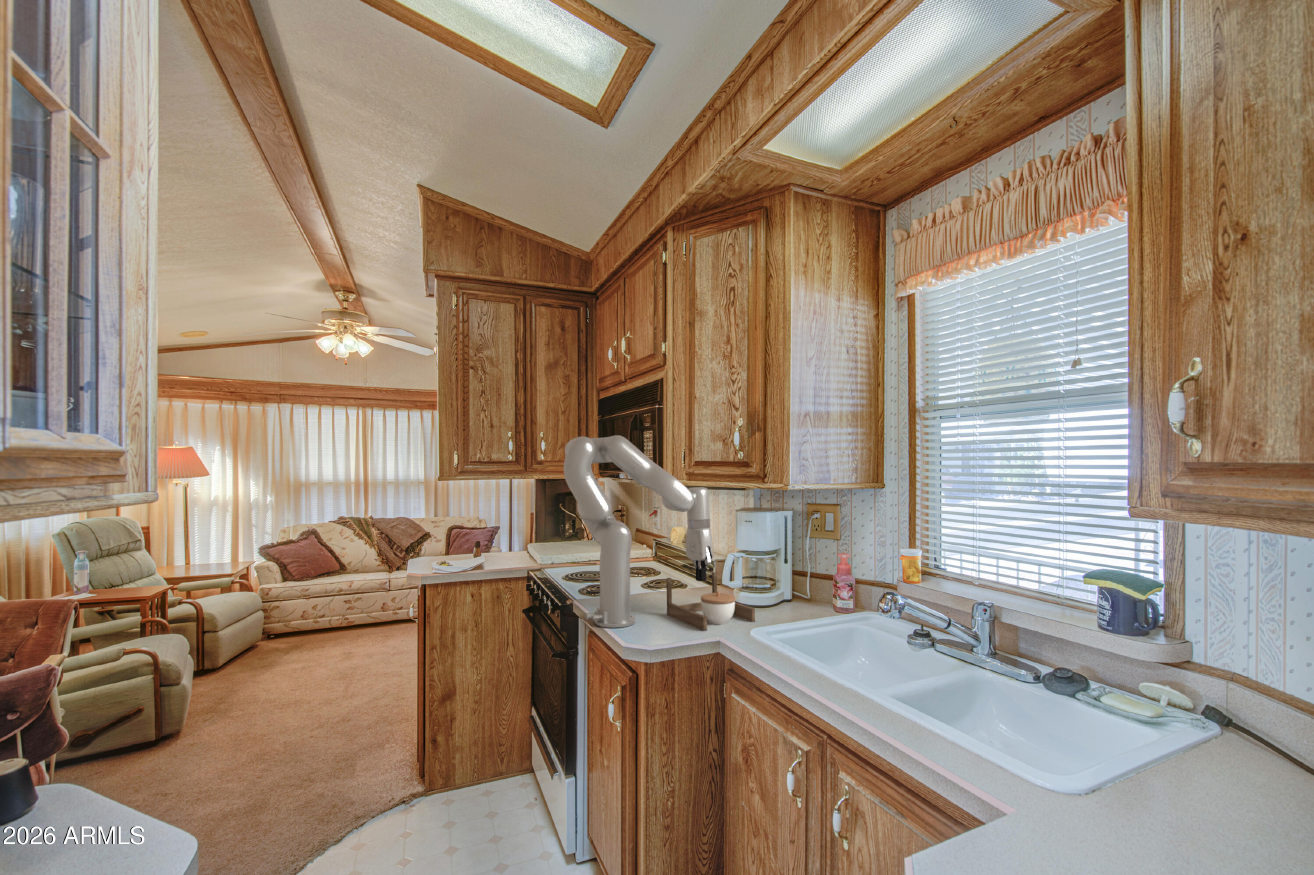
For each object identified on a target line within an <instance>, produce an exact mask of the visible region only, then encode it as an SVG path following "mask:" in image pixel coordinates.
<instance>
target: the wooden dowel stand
mask: <svg viewBox="0 0 1314 875" xmlns="http://www.w3.org/2000/svg"><path fill="white" fill-rule="evenodd" d="M672 580H673V579H672V578H671V577H666V615H667V616H668V615H669V616H668V617H670V616H671V618H672V617H673V619H675V620H677V619H678V620H677V621H680V622H682V623H684V624H686V625H689V626H691V627H693V628H696V629H698V630H700V631H703V632H706V631H708V620H707V617H706V616H704V614H701V613H698V612H702V606H701V601H699V602H694V603H688V604H681V605H678V604H675V603H673V599H672V598H673V592H672V591H673V589H672V588H673V587H672ZM711 588H712V589H711V590H712V591H711V593H716V591H718V573H717V572H715V571H714V572H711ZM755 611H756V609H755V608H754V607H751V606H748V605H746V604H745V605H744V604H742V603H739V602H736V601H735V610H734V614H733V616H734V615H735V616H734V617H737V618H739V617H740V618H739V619H742V618H743V620H745V619H746V620H745V621H748V622H750V623H754V622H756V612H755Z"/></svg>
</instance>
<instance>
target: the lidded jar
mask: <svg viewBox="0 0 1314 875" xmlns="http://www.w3.org/2000/svg"><path fill="white" fill-rule="evenodd" d="M700 600H701V601H700V602H701V606H702V611H701V612H702V615H704V616H706V617H707V622H708V623H710V624H712V625H713V624H714V625H726V624H728V623H729V622H730V620H731V619H732V618H733V616H734V615H733V614H734V610H735V602H736V596H735V595H734V594H730V593H724V592H720V590H717V591H716V593H712V592H709V593H705V594H702V595H701V596H700Z"/></svg>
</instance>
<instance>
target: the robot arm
mask: <svg viewBox="0 0 1314 875" xmlns="http://www.w3.org/2000/svg"><path fill="white" fill-rule="evenodd" d="M564 455H565V458H564V462H563V475H564V479H565V482H566V484H567V486H568V488H569V489H570V491H571V493H572V495H573V497H574V499H575V500H576V502H577V503H576V508H577V513H578V514H579V517H580V518H581V520H582V522H583V523H584V525H585V527H586V528H587V529H588V531H589V532H590V534H591V536H592V538H593V539H594V540H595V542H596V543H597V544H598V545H599V546H600V554H599V607H597V608H596V610H594V612H586V613H585V614H584V618H585V620H593V621H594V624H595V625H596V626H598V627H602V628H609V629H610V628H613V629H614V628H615V629H616V628H617V629H618V628H623V627H624V628H625V627H629V626H633V625H634V624H635V623H636V617H635V616H634V615H632V614H631V551H632V540H633V539H632V538H633V537H632V532H631V530H630V529H629V527H628V526H627V525H626V524H625V523H624V522H622V521H619V520H617V519H616V517H615V516H614V514H613V512H612V508H613V507H612V504H611V501H610V499H609V497H608V496H607V494H606V493H605V492H604V490H603V489H602V488H603V487H601V486H600V483H599V482H598V480H597V478H596V477H595V475H594V472H593V469H592V464H603V463H613V464H614V465H615V466H617V467H618V468H619V469H621V471H623V472H624V473H625V474H626V475H627V476H628V477H629V478H630V479H632V480H634V482H635V483H637V484H638V485H640V486H642V487H644V488H647V489H650V490H651V491H652V492H654V493H656V494H658V495H659V496H660V497H661V502H662V505H663V506H664V508H666V509H668V510H670V511H674V512H680V513H684V512H686V516H687V517H686V519H687V520H686V521H687V523H686V524H687V528H686V534H685V556H686V558H688V559H690V561H691V562H693V566H694V569H695V571H694V572H695V580H696V582H704V581H707V568H708V565H710V564H712V559H713V558H714V546H713V544H714V543H713V537H712V531H711V519H710V518H711V516H710V493H709V492H710V491H709V489H708V488H707V487H705V486H704V487H703V486H701V487H700V486H698V487H696V486H694V487H689V488H688V487H687V486H685V485H684V484H683V483H682V482H681V481H680V480H678V478H676V477H675V476H674V475H673V474H671V473H669V472H668V471H667V470H665V469H664V468H662V467H661V466H660V465H658V464H657V463H655V461H653V460H651V459H650V458H649V457H648V456H647V455H646V454H644V453H643V452H642V451H641V450H640V449H639V448H638V447H637V446H636V445H634V444H633V443H632V442H631V441H630V440H628V439H627V438H626V437H625V436H622V435H619V434H618V435H611V436H605V437H587V436H578V437H574V438H572V439H571V440H569V441H568V442H567V443H566V444H565V447H564Z"/></svg>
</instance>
